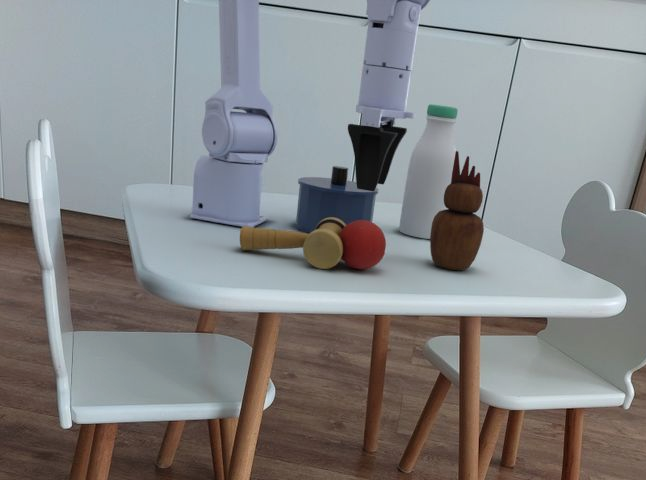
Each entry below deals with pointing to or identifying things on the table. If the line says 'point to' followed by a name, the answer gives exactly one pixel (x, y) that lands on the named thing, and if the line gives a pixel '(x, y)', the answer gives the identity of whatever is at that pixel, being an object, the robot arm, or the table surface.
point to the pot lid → (335, 183)
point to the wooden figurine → (458, 221)
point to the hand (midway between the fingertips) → (371, 186)
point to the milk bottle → (429, 172)
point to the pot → (331, 207)
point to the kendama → (324, 242)
